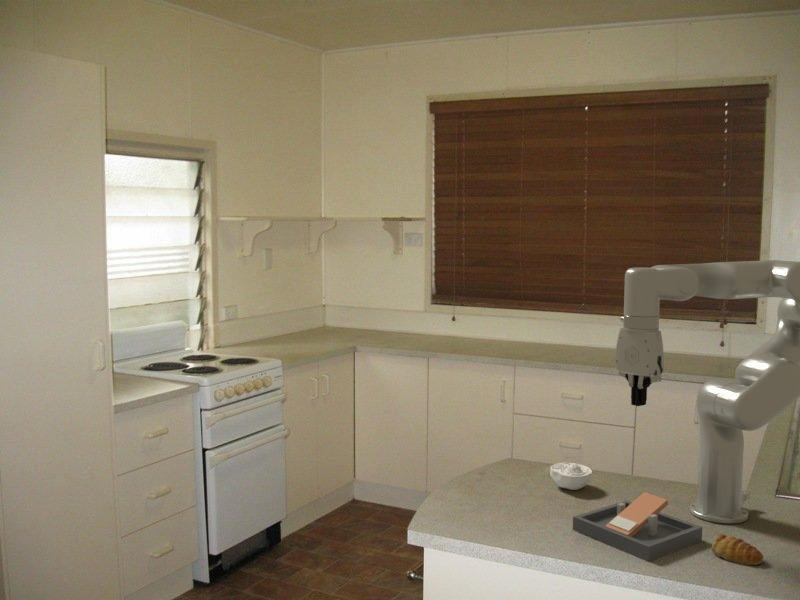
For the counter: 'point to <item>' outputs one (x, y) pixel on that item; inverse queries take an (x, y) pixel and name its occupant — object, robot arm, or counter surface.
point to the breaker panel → (639, 532)
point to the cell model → (570, 475)
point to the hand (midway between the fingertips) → (638, 404)
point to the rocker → (637, 514)
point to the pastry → (736, 550)
